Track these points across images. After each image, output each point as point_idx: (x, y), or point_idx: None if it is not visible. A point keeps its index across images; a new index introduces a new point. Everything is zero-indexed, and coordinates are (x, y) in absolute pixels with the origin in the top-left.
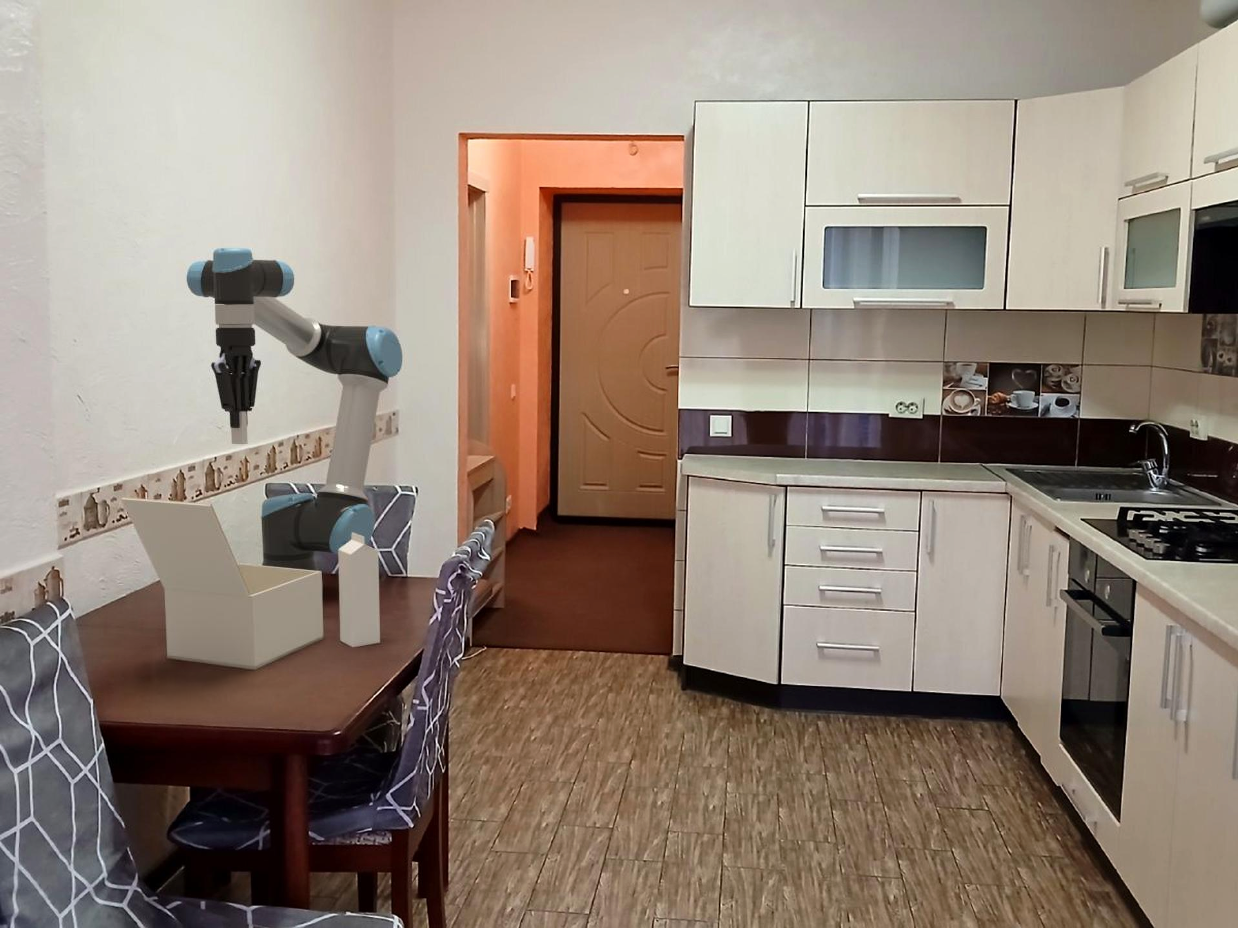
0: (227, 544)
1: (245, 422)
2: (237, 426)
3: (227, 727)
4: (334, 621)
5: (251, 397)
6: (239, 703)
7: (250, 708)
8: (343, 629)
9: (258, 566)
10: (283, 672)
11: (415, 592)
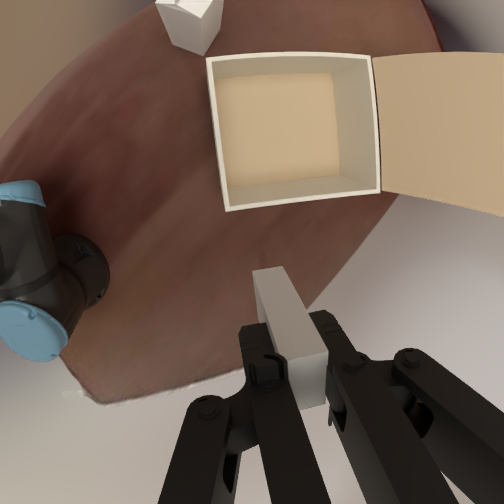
0: (452, 52)
1: (279, 320)
2: (320, 314)
3: (432, 22)
4: (138, 121)
5: (221, 450)
6: (400, 35)
7: (403, 23)
8: (208, 44)
9: (224, 170)
10: (325, 41)
11: (4, 147)
